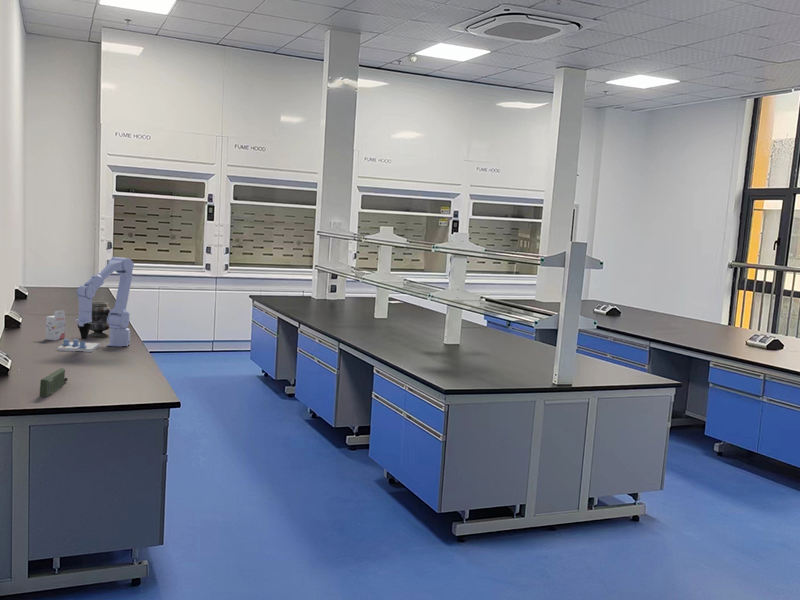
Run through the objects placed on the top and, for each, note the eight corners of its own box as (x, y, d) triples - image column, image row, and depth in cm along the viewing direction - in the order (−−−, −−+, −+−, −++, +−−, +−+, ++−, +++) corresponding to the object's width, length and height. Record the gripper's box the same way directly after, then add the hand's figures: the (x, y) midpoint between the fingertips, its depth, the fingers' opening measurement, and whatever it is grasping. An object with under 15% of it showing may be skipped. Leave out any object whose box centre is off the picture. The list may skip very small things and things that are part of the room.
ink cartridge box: (56, 337, 372) (57, 308, 371) (64, 338, 371) (65, 309, 370) (45, 339, 364) (45, 310, 363) (53, 340, 363) (54, 311, 362)
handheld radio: (37, 397, 254) (61, 382, 279) (47, 398, 255) (70, 383, 279) (38, 379, 254) (62, 365, 278) (48, 379, 254) (71, 366, 279)
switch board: (99, 346, 356) (99, 343, 356) (91, 352, 341) (91, 348, 340) (67, 345, 354) (67, 341, 354) (57, 350, 338) (57, 347, 338)
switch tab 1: (70, 344, 347) (71, 338, 346) (69, 345, 344) (69, 339, 344) (63, 344, 346) (63, 338, 346) (62, 345, 343) (62, 339, 343)
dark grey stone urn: (109, 334, 394) (110, 301, 393) (110, 337, 384) (112, 304, 382) (85, 333, 389) (86, 300, 387) (86, 337, 378) (87, 303, 377)
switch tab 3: (86, 347, 343) (87, 341, 343) (85, 348, 341) (85, 342, 340) (79, 347, 343) (80, 341, 342) (78, 348, 340) (78, 342, 340)
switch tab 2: (80, 345, 347) (80, 339, 347) (78, 346, 345) (78, 340, 344) (73, 344, 347) (73, 339, 347) (71, 345, 344) (71, 339, 344)
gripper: (80, 308, 349) (79, 336, 350) (72, 312, 334) (71, 341, 336) (95, 309, 350) (94, 337, 351) (88, 313, 336) (87, 342, 337)
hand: (84, 339), depth 344 cm, fingers closed
